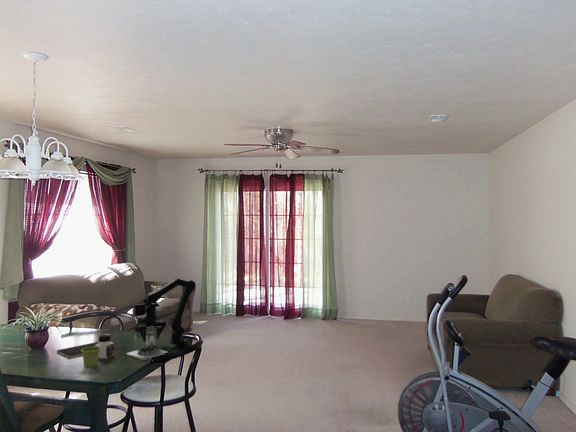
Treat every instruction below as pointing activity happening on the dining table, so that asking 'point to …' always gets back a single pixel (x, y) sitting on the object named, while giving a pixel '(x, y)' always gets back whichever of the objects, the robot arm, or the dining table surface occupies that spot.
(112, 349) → the medicine bottle
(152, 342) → the duct coupling
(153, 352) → the plate
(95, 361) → the plant pot
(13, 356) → the dining table surface
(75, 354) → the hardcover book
